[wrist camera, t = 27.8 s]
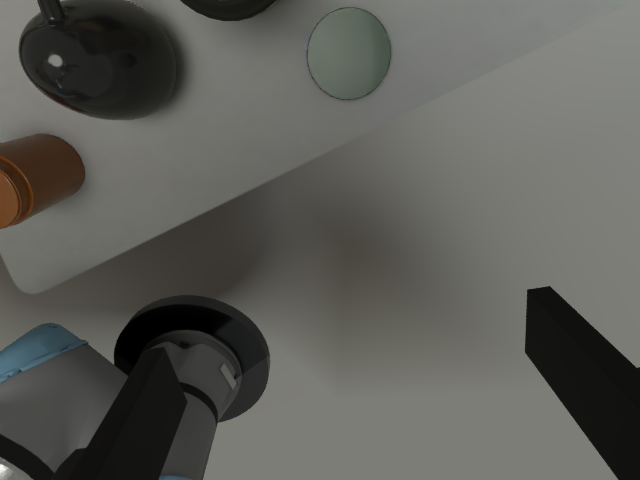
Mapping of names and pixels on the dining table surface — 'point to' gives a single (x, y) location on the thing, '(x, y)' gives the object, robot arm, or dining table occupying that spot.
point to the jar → (36, 176)
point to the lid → (349, 53)
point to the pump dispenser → (99, 58)
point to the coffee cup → (230, 8)
